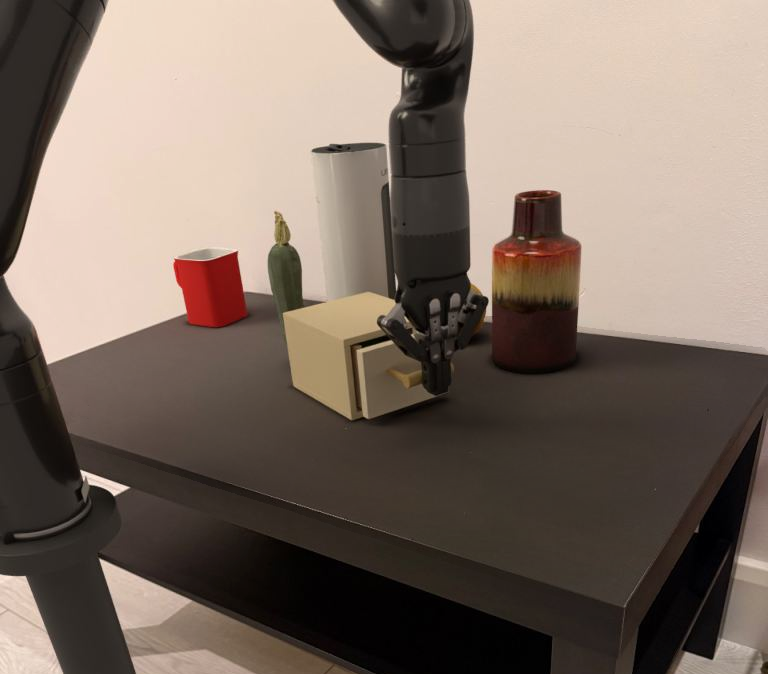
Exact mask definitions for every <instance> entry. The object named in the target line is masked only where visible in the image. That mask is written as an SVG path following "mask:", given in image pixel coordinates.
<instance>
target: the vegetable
mask: <svg viewBox="0 0 768 674" xmlns="http://www.w3.org/2000/svg"><path fill="white" fill-rule="evenodd" d="M273 212H274V213H273V214H274V215H275V216H274V230H273V236H274V241H275V244H273V246H271V248H270V250H269V252H268V254H267V273H268V279H269V284H270V290H271V294H272V296H273V299H274V302H275V306H276V310H277V314H278V318H279V322H280V328H281V333H282V336H283V340H284V343H285V345H286V348H287V349H288V346H287V339H286V332H285V325H284V318H283V313H285V312H289V311H293V310H297V309H301V308H305V305H304V301H303V298H304V297H303V268H302V267H303V266H302V261H301V257H300V254H299V252H298V250H297V249H296V248H295V247H294V246H293V245H291V244H290V240H291V237H292V236H291V231H290V228H289V225H288V224H287V221H286V220H285V219H284V217H283V214H282V213H281V212H279V211H277V210H274V211H273Z"/></svg>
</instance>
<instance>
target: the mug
mask: <svg viewBox="0 0 768 674" xmlns="http://www.w3.org/2000/svg"><path fill="white" fill-rule="evenodd" d="M173 260H174V261H173V263H172V266H173V267H172V268H173V272H174V276H175V281H176V283H177V285H178V286H179V288H180V289H181V291H182V297H183V301H184V306H185V310H186V316H187V320H188V323H189V325H193V326H194V325H195V326H200V327H206V328H207V327H208V328H222V327H226V326H228V325H231V324H232V323H235V322H237V321H240V320H242V319H244V318H246V317H248V310H247V304H246V298H245V291H244V287H243V280H242V273H241V269H240V263H239V249H238V248H230V247H215V246H207V247H200V248H197V249H193V250H191V251H188V252H184V253H181V254H178V255H175V256H174V257H173Z"/></svg>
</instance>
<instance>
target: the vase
mask: <svg viewBox="0 0 768 674" xmlns="http://www.w3.org/2000/svg"><path fill="white" fill-rule="evenodd" d="M562 208H563V207H562V192H560V191H557V190H550V189H540V190H538V189H537V190H528V191H522V192H519V193H516V194H515V195H514V199H513V212H512V224H511V232H510V234H509V235H508V236H506V237H504V238H502V239H500V240H499V241H497V242H496V243H494V245H493V246H492V249H491V358H492V359H491V360H492V363H493V364H494V365H495V366H496V367H497V368H500V369H502V370H505V371H508V372H513V373H519V374H544V373H552V372H557V371H560V370H563V369H566V368H568V367H570V366H571V365H573V364H574V363H575V361H576V357H577V340H578V339H577V338H578V324H579V323H578V321H579V308H580V307H579V306H580V305H579V303H580V284H581V268H582V267H581V266H582V248H583V247H582V243H581V241H579V239H577V238H576V237H574V236H572V235H569V234H567V233H565V232H564V230H563V209H562Z"/></svg>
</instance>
